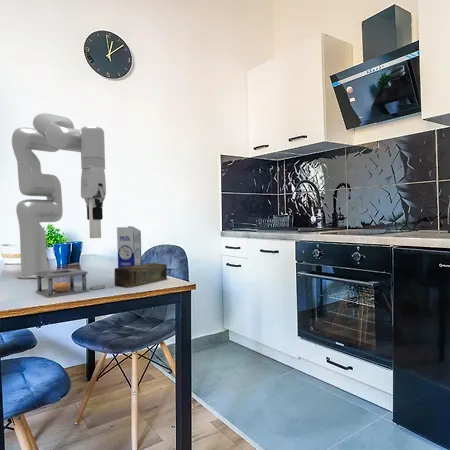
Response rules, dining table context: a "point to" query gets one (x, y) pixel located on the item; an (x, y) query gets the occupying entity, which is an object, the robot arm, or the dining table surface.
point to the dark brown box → (140, 274)
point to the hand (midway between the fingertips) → (94, 219)
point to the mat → (96, 287)
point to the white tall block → (94, 222)
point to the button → (61, 286)
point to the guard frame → (58, 274)
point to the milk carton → (129, 246)
